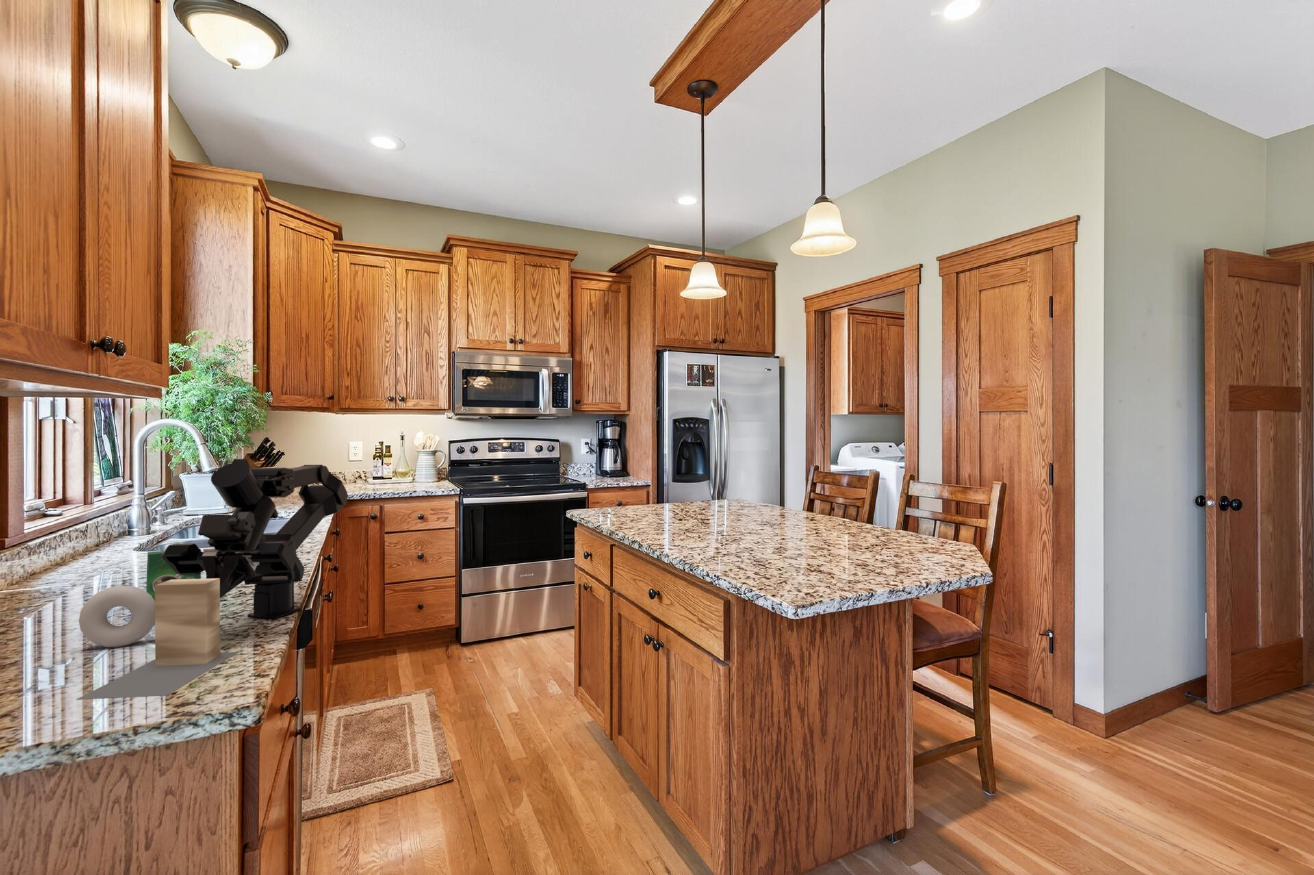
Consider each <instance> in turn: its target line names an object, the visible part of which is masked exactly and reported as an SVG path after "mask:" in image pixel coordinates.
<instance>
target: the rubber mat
mask: <svg viewBox="0 0 1314 875" xmlns="http://www.w3.org/2000/svg"><path fill="white" fill-rule="evenodd" d="M238 653H239V651H234V652H232V651H230V652H226V651H225V652H220V656H218V657H217V658H215V659H213V660H212V661H210V662H208V663H206V664H190V665H165V666H155V659H153V660H150V661H149V662H147V663H145V664H143V665H141V666H139V667H136V669H133V670H132V671H129V672H127V673H125V674H123V675H121V676H119V677H117V678H116V679H113V680H112V681H110V682H107V683H105V684H104V685H101V686H100V687H98V688H95V689H93V690H92V691H90V692H88V693H86V694H83V695H82V696H80V697H78V698H76V701H79V700H80V701H81V700H98V699H122V698H123V699H124V698H145V697H164V696H165V697H168V696H169V695H171V694H173V693H174V692H175V691H178V690H180V689H181V688H183V687H184V686H186V685H187V684H189V683H191V682H192V681H194V680H196V679H198V678H199V677H201V676H202V675H204V674H205V673H207V672H209V671H211V670H212V669H214V668H216V667H217V666H219V665H220V664H223V663H224V662H225V661H227V660H228V659H230V658H232V657H233V656H235V655H237V654H238Z"/></svg>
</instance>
